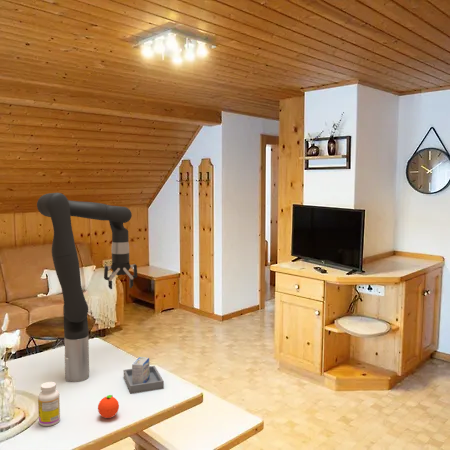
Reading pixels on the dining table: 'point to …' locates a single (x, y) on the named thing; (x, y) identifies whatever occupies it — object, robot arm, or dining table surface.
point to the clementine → (108, 407)
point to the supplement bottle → (48, 404)
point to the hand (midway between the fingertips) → (121, 288)
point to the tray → (151, 384)
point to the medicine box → (140, 370)
